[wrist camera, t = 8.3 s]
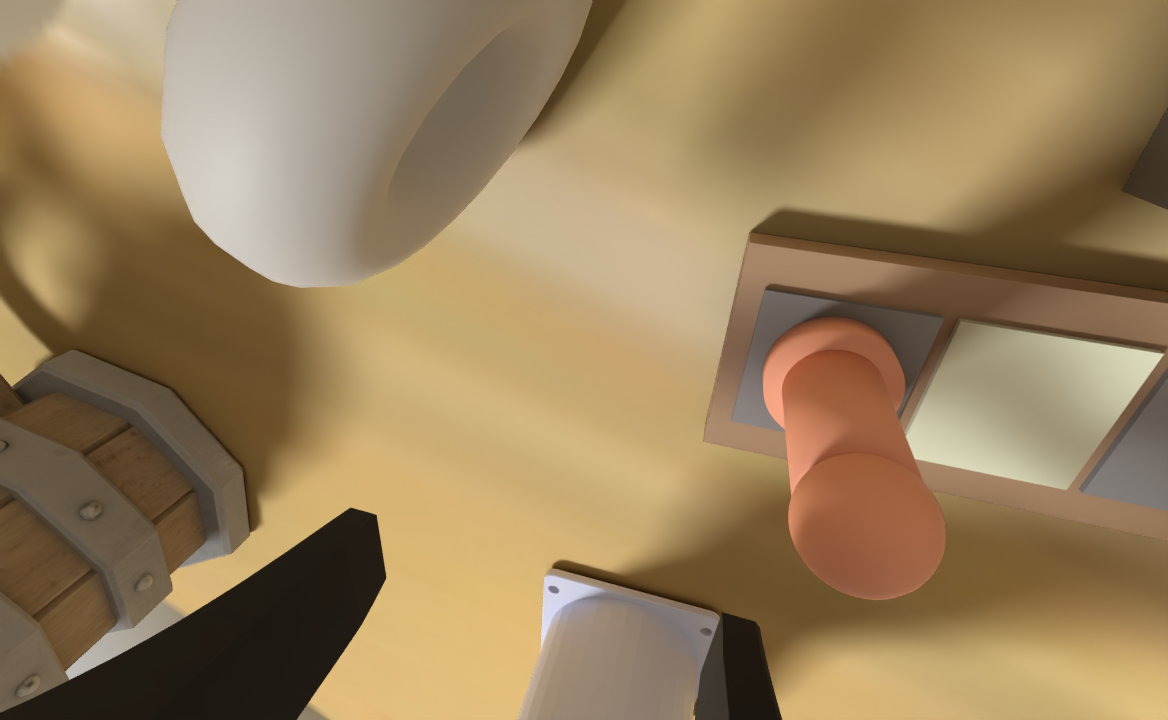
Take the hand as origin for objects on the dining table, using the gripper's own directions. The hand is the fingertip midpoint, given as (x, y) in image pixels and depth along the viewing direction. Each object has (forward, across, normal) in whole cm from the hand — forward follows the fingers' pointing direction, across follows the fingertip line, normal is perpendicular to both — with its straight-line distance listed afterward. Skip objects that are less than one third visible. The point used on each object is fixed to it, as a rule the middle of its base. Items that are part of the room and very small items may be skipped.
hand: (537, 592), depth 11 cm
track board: (+10, -14, -2) cm, 17 cm away
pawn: (+8, -6, -2) cm, 10 cm away
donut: (+10, +5, -9) cm, 14 cm away
